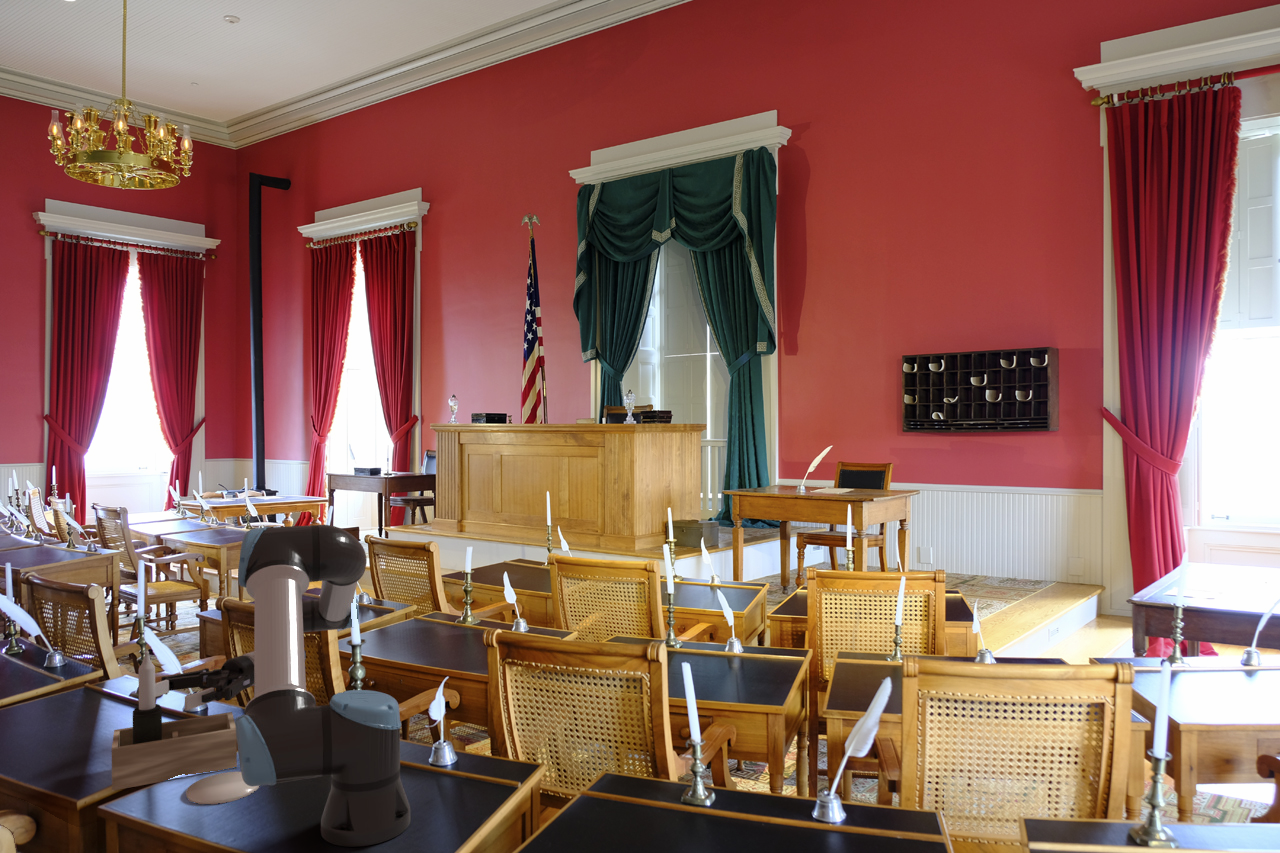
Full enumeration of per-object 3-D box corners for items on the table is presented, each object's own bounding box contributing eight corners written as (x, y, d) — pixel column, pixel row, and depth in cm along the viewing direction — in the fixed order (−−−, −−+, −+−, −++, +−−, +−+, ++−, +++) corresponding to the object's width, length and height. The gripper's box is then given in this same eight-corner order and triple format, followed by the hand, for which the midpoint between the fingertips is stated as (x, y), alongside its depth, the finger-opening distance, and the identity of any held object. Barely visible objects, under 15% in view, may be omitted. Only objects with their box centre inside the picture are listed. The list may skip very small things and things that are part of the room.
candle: (162, 775, 175) (161, 652, 175) (133, 780, 173) (131, 655, 172) (161, 766, 180) (160, 646, 179) (133, 771, 177) (132, 649, 177)
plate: (263, 795, 166) (263, 790, 166) (187, 810, 160) (187, 806, 160) (256, 770, 177) (256, 766, 177) (185, 783, 171) (185, 779, 171)
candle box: (236, 767, 179) (236, 729, 178) (112, 790, 168) (111, 749, 168) (232, 748, 189) (232, 711, 189) (114, 768, 178) (114, 729, 178)
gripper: (287, 694, 194) (206, 725, 175) (206, 680, 204) (121, 709, 185) (286, 661, 194) (206, 688, 175) (206, 649, 204) (121, 674, 185)
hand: (162, 699), depth 180 cm, fingers open, 13 cm apart
